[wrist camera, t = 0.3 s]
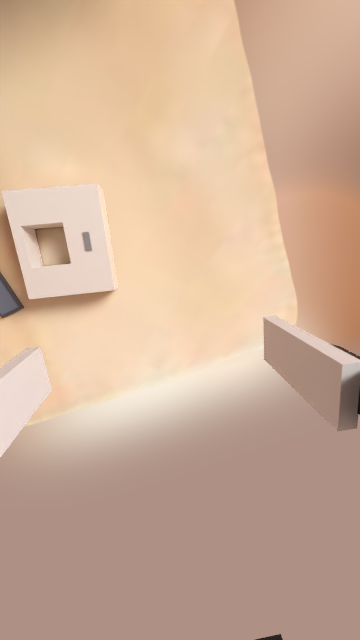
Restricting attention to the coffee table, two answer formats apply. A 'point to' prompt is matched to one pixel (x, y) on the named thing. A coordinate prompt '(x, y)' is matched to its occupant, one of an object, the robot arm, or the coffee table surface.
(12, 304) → the phone
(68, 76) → the coffee table surface
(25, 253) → the outlet plate
